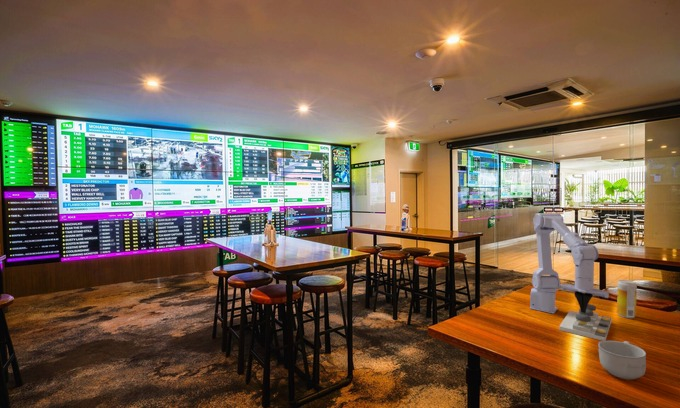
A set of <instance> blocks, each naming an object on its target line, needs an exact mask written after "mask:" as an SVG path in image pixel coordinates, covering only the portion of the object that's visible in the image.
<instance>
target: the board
mask: <svg viewBox="0 0 680 408" xmlns="http://www.w3.org/2000/svg"><path fill="white" fill-rule="evenodd" d="M576 314H580V313H579V311H575V310H574V311H573V310H569V311H568V312H567V314H566V315H565V317H564V319H563V320H562V321H561V323H560V325H559V326H558V330H559V331H562V332H565V333H568V334H569V333H570V334H574V335H576V336H577V335H579V336H582V337H586V338H591V339H594V340H597V341H600V342H602V341H607V337H608V335H609V331H610V327H611V325H612V317H609V316H608V317H607V316H604V315H601V316H599V313H597V312H593V316H590V317H591V321H590V322H587V324H586V325H584V324H580V323H579V320H577V319H576Z"/></svg>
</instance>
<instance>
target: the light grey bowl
mask: <svg viewBox="0 0 680 408" xmlns="http://www.w3.org/2000/svg"><path fill="white" fill-rule="evenodd" d="M597 348H598V356H599V357H598V358H599V362H600V363H599V364H600V365H601V366H602V367H603V369H604V370H606V371H607V372H608V373H609V374H611V375H613V376H614V377H617V378H620V379H623V380H629V381H630V380H631V381H632V380H636V379H639V378H642V377H643V376H644V375H645V373H646V369H647V360H646V358H647V357H646V356H647V353H646V351H645V350H644V349H643V348H641V347H639V346H637V345H635V344H634V345H633V344H632V343H631V342H630V341H626V340H624V341H617V340H606V341H599V342H598V344H597Z"/></svg>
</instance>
